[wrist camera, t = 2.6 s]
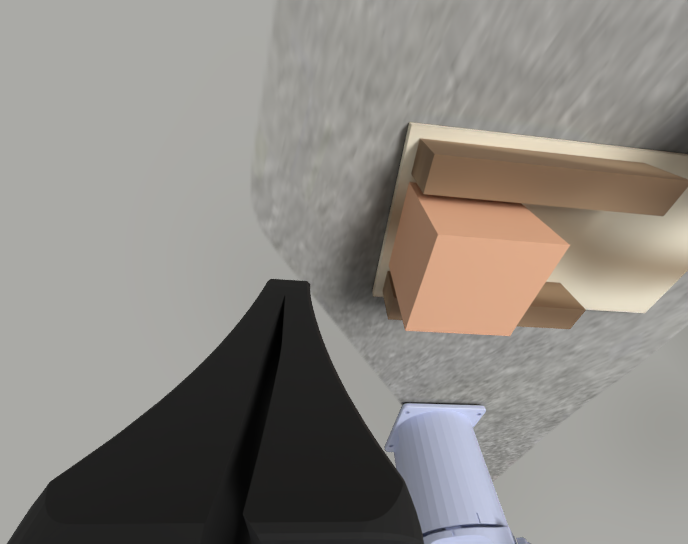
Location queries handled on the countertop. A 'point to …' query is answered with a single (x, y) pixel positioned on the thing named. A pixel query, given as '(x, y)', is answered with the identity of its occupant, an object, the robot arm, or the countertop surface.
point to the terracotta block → (469, 263)
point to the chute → (540, 198)
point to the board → (580, 225)
